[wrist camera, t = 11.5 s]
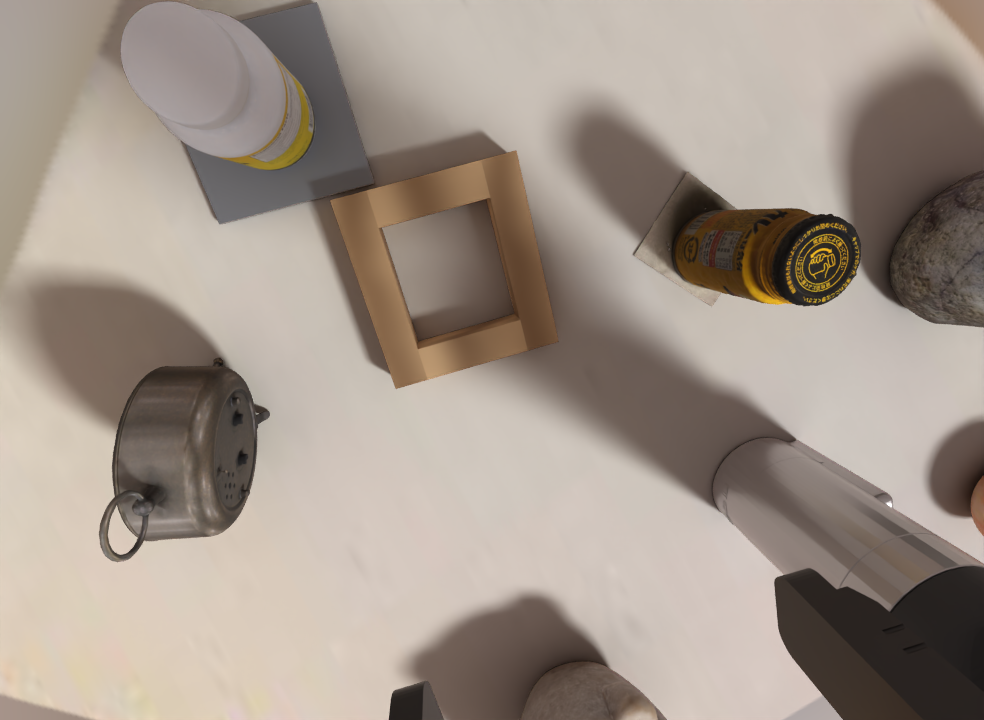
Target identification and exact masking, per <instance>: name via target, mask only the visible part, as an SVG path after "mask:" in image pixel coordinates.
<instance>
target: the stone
mask: <svg viewBox="0 0 984 720" xmlns="http://www.w3.org/2000/svg"><path fill="white" fill-rule="evenodd" d="M890 273H891V281H890V283H891V286H892V288H893V290H894V291H895V293H896V295H897V297H898V299H899V300H900V301H901V303H902V304H903V305H904V306H905V307H906V308H908V309H909V310H910V311H912V312H913V313H915V314H916V315H918V316H919V317H921V318H923V319H925V320H927V321H929V322H932V323H936V324H952V325H964V326H975V327H984V171H981V172H977V173H974V174H972V175H969V176H967V177H965V178H963V179H962V180H960V181H959V182H957V183H956V184H954V185H952V186H951V187H949V188H947V189H946V190H944V191H943V192H942V193H940V194H939V195H938V196H936V197H935V198H934V199H932V200H931V201H930V202H929V203H927V204H926V205H925V206H924V207H923V208H922V209H921V210H920V211H919V212H918V213H917V214H916V215H915V216H914V217H913V219H912V220H911V221H910V222H909V224H908V225H907V227H906V228H905V230H904V231H903V233H902V235H901V237H900V238H899V240H898V242H897V243H896V246H895V248H894V250H893V253H892V258H891V263H890Z"/></svg>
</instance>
